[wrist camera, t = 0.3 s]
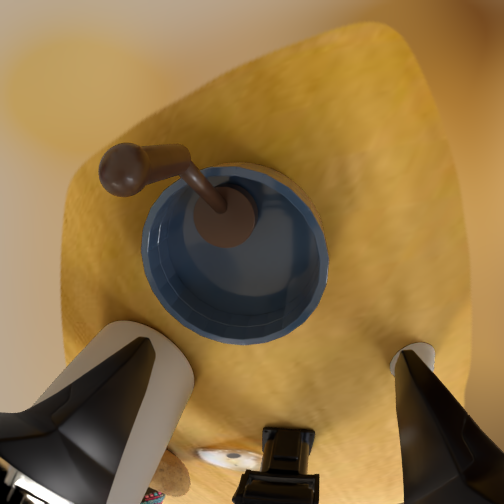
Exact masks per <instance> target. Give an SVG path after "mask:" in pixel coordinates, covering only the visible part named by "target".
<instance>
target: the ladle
mask: <svg viewBox="0 0 504 504" xmlns="http://www.w3.org/2000/svg"><path fill="white" fill-rule="evenodd" d="M176 175H179V176H180V177H181V178H182V179H183V180H184V181H185V182H186V183H187V184H188V185H189V186H190V187H191V188H192V189H193V190H194V191H195V192H196V193H197V194H198V195H199V196H200V197H199V199H198V200H197V202H196V204H195V207H194V213H193V218H194V224H195V227H196V229H197V231H198V233H199V234H200V235H201V237H202V238H203V239H204V240H205V241H207V242H208V243H210V244H211V245H214V246H216V247H220V248H232V247H236V246H238V245H240V244H242V243H243V242H245V241H246V240H247V239H248V238H249V236H250V235H251V233H252V232H253V230H254V228H255V226H256V224H257V220H258V209H257V205H256V202H255V200H254V199H253V197H252V196H251V194H250V193H249V192H248V191H246V190H245V189H244V188H242V187H240V186H238V185H234V184H220V185H217V186H215V187H213V186H212V184H211V183H210V182H209V181H208V180H207V179H206V177H205V176H204V175H203V174H202V173H201V172H200V170H199V169H198V168H197V167H196V166H195V165H194V163H193V162H192V161H191V156H190V153H189V151H188V149H187V148H186V147H185V146H183V145H181V144H166V145H153V146H142V147H139V146H138V145H135V144H132V143H121V144H118V145H115V146H113V147H112V148H110V149H109V150H108V151H107V152H106V153H105V154H104V156H103V157H102V159H101V161H100V164H99V179H100V182H101V184H102V186H103V187H104V188H105V189H106V190H107V191H108V192H109V193H111V194H112V195H115V196H118V197H128V196H132V195H135V194H136V193H138V192H139V191H141V190H142V189H143V188H144V187H145V185H148V184H151V183H154V182H157V181H160V180H163V179H167V178H170V177H173V176H176Z"/></svg>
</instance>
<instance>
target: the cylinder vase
mask: <svg viewBox="0 0 504 504" xmlns="http://www.w3.org/2000/svg"><path fill="white" fill-rule="evenodd" d="M140 336H141V337H147V338H149V339H150V340H151V343H152V345H153V347H154V350H155V353H156V358H155V362H154V365H153V369H152V373H151V376H150V380H149V384H148V387H147V391H146V393H145V396H144V399H143V401H142V404H141V407H140V409H139V412H138V414H137V417H136V420H135V422H134V425H133V428H132V430H131V433H130V436H129V439H128V441H127V444H126V447H125V450H124V452H123V455H122V458H121V461H120V464H119V467H118V470H117V472H116V475H115V479H114V482H113V485H112V488H111V491H110V494H109V497H108V500H107V503H106V504H140V503H141V501H142V499H143V497H144V495H145V493H146V490H147V488H148V486H149V484H150V482H151V480H152V478H153V475H154V473H155V471H156V469H157V467H158V465H159V463H160V460H161V458H162V456H163V454H164V452H165V450H166V447H167V445H168V443H169V441H170V439H171V437H172V434H173V432H174V430H175V428H176V426H177V424H178V421H179V419H180V417H181V415H182V413H183V411H184V408H185V406H186V404H187V402H188V400H189V398H190V395H191V393H192V391H193V388H194V375H193V371H192V368H191V366H190V364H189V362H188V360H187V359H186V357H185V356H184V354H183V353H182V352H181V351H180V349H179V348H178V347H177V346H176V345H175V344H174V343H173V342H171V341H170V340H169V339H168V338H167V337H165V336H164V335H162V334H161V333H159V332H158V331H156V330H154V329H152V328H150V327H148V326H146V325H143V324H140V323H137V322H133V321H116V322H112V323H110V324H108V325H106V326H105V327H104V328H103V329H102V330H101V331H100V332H99V333H98V334H97V335H96V336H95V337H94V338H93V339H92V340H91V341H90V343H89V344H88V345H87V346H86V347H85V348H84V349H83V350H82V351H81V352H80V353H79V354H78V355H77V356H76V357H75V359H74V360H73V361H72V362H71V363H70V364H69V365H68V366H67V367H66V368H65V369H64V371H63V372H62V373H61V374H60V375H59V376H58V377H57V378H56V379H55V381H54V382H53V383H52V384H51V385H50V386H49V388H47V390H46V391H45V392H44V393H43V394H42V395H41V396H40V398H39V399H38V400H37V401H36V402H35V403H34V405H36V404H38V403H40V402H42V401H43V400H45V399H47V398H49V397H50V396H52V395H54V394H56V393H57V392H59V391H60V390H62V389H63V388H65V387H66V386H68V385H69V384H72V382H74V381H75V380H76V379H78V378H79V377H81V376H82V375H84V374H85V373H87V372H88V371H89V370H91V369H92V368H94V367H95V366H97V365H98V364H100V363H101V362H103V361H104V360H105V359H107V358H108V357H110V356H111V355H113V354H114V353H116V352H117V351H118V350H120V349H121V348H123V347H124V346H126V345H127V344H129V343H130V342H131V341H133V340H134V339H136V338H137V337H140ZM34 405H33V406H34ZM33 406H32V407H33Z"/></svg>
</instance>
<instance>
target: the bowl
mask: <svg viewBox="0 0 504 504" xmlns="http://www.w3.org/2000/svg"><path fill="white" fill-rule="evenodd" d="M200 172H201V173H202V174H203V175H204V176H205V177H206V179H207V180H208V181H209V182H210V183H211V184H212V186H213V187H215V186H217V185H220V184H234V185H238V186H240V187H242V188H244V189H245V190H246V191H248V192H249V193H250V194H251V196H252V197H253V199H254V200H255V202H256V205H257V209H258V220H257V224H256V226H255V228H254V230H253V232H252V233H251V235H250V236H249V238H248V239H247V240H246V241H245V242H243V243H242V244H240V245H238V246H236V247H232V248H220V247H216V246H214V245H211V244H210V243H208V242H207V241H205V240H204V239H203V238H202V237H201V235H200V234H199V233H198V231H197V229H196V227H195V224H194V218H193V213H194V207H195V204H196V202H197V200H198V199H199V197H200V196H199V195H198V194H197V193H196V192H195V191H194V190H193V189H192V188H191V187H190V186H189V185H188V184H187V183H186V182H185V181H184V180H183V179H182V178H180V179H179V180H177V181H176V182H174V183H173V184H172V185H170V186H169V187H168V188H166V189H165V190H164V191H163V192H162V194H161V195H160V196H159V198H158V199H157V200H156V202H155V203H154V204H153V206H152V207H151V209H150V211H149V214H148V217H147V219H146V222H145V225H144V227H143V233H142V245H141V254H142V260H143V266H144V271H145V275H146V277H147V279H148V282H149V284H150V286H151V289H152V291H153V292H154V294H155V296H156V297H157V298H158V300H159V301H160V303H161V304H162V305H163V307H164V308H165V309H166V310H167V311H168V312H169V313H170V314H171V315H172V316H173V317H174V318H175V319H176V320H178V321H179V322H180V323H181V324H182V325H183V326H185V327H187V328H189V329H190V330H192V331H194V332H195V333H197V334H199V335H201V336H203V337H206V338H209V339H212V340H215V341H218V342H221V343H222V342H223V343H226V344H236V345H251V344H260V343H266V342H269V341H272V340H275V339H277V338H280V337H283V336H285V335H287V334H289V333H290V332H291V331H293V330H294V329H296V328H297V327H299V326H300V325H301V324H303V323H304V322H305V321H306V320H307V318H308V317H309V316H310V315H311V314H312V312H313V311H314V310H315V309H316V307H317V306H318V304H319V302H320V299H321V297H322V295H323V292H324V290H325V287H326V285H327V278H328V267H329V255H328V250H327V244H326V239H325V234H324V230H323V225H322V221H321V218H320V216H319V214H318V212H317V210H316V208H315V206H314V205H313V203H312V201H311V200H310V198H309V197H308V196H307V195H306V193H305V192H304V191H303V190H302V189H301V188H300V187H299V186H298V185H297V184H296V183H295V182H293V181H292V180H291V179H289V178H288V177H286V176H285V175H283V174H282V173H280V172H278V171H276V170H274V169H271V168H268V167H265V166H262V165H259V164H253V163H246V162H233V163H222V164H218V165H215V166H211V167H208V168H205V169H202V170H200Z"/></svg>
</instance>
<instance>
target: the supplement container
mask: <svg viewBox="0 0 504 504" xmlns="http://www.w3.org/2000/svg"><path fill="white" fill-rule="evenodd" d="M165 496H166V494H164V493H161V492H159V491H157V490H155V489H152V488H150V487H148V488H147V490H146V493H145V495H144V497H143V499H142V501H141V503H140V504H162V503H163V500H164V498H165Z"/></svg>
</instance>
